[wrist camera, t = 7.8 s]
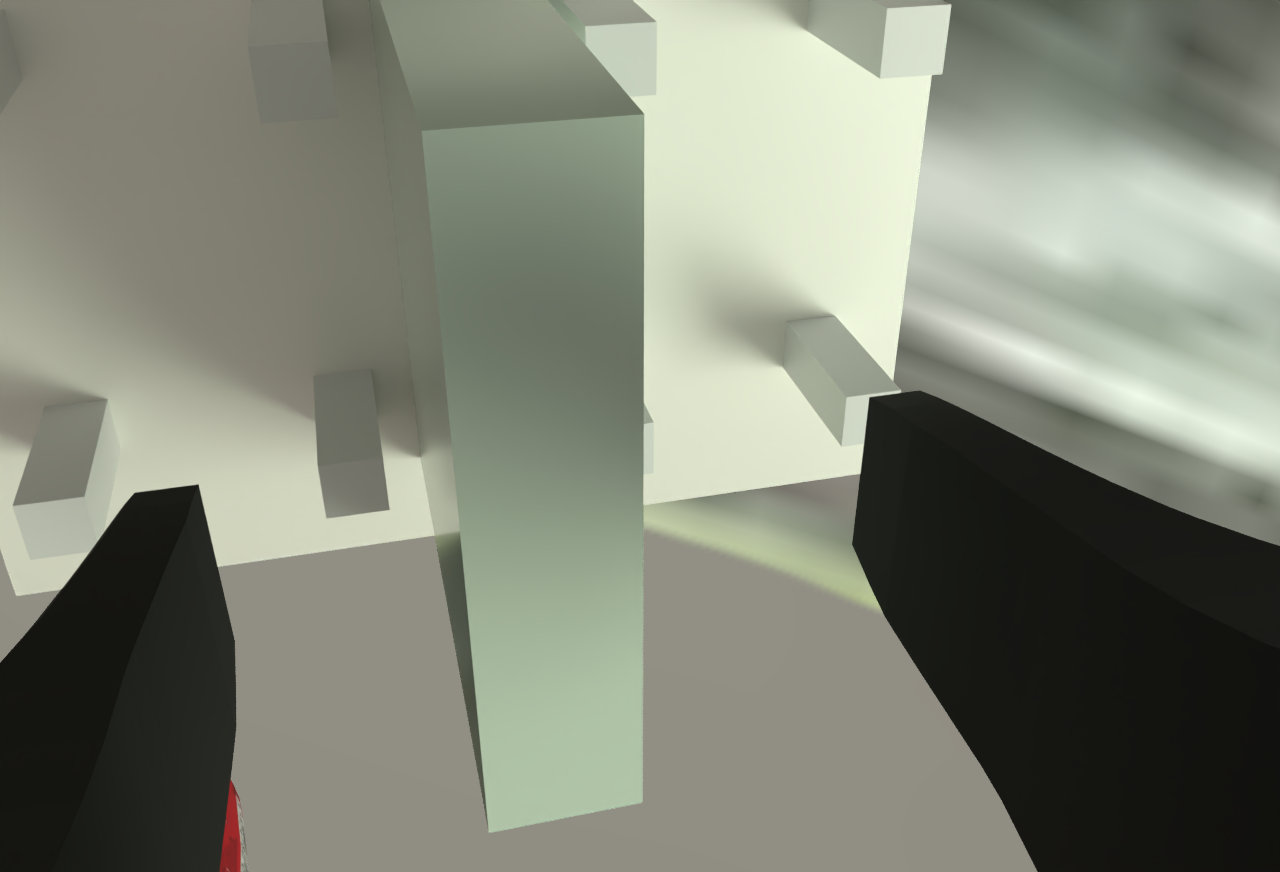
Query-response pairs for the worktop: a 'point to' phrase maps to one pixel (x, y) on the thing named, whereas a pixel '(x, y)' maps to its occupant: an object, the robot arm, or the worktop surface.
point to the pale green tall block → (526, 383)
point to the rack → (369, 270)
